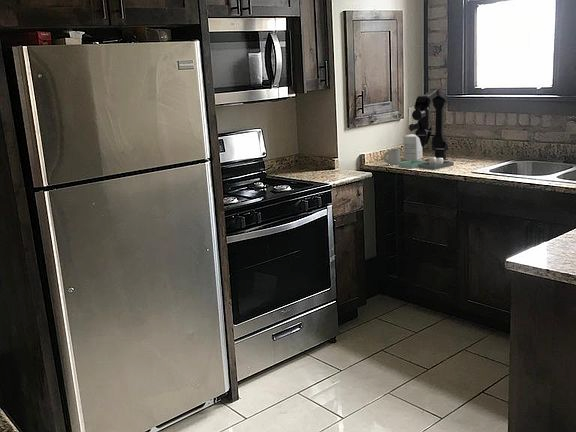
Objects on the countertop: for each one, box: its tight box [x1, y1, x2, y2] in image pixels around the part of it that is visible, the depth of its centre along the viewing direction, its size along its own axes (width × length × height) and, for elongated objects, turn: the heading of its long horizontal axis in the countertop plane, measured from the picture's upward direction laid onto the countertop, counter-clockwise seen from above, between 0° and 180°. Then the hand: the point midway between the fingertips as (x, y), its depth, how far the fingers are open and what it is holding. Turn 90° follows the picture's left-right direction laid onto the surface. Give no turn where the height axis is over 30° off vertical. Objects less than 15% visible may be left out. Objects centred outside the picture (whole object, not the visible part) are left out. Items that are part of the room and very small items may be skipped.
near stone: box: [436, 158, 444, 165], centre depth 359 cm, size 4×4×5 cm
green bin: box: [398, 159, 427, 169], centre depth 368 cm, size 11×11×3 cm
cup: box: [383, 148, 401, 166], centre depth 379 cm, size 7×10×9 cm
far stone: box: [428, 156, 436, 166], centre depth 363 cm, size 4×4×5 cm
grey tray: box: [418, 160, 454, 171], centre depth 362 cm, size 16×12×2 cm
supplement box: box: [402, 133, 424, 161], centre depth 393 cm, size 9×9×15 cm
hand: (424, 145), depth 360 cm, fingers open, 9 cm apart
